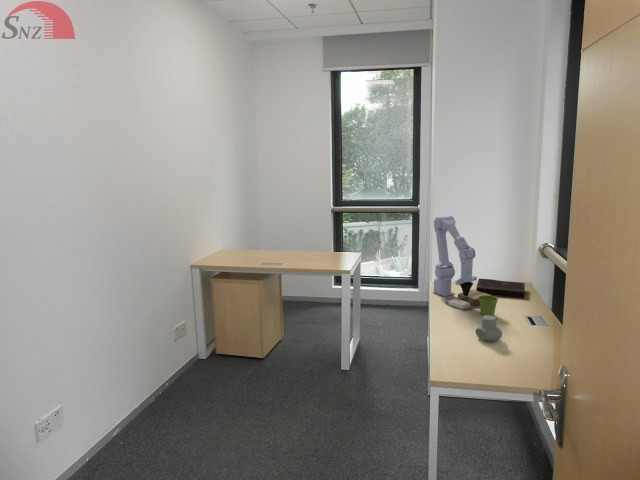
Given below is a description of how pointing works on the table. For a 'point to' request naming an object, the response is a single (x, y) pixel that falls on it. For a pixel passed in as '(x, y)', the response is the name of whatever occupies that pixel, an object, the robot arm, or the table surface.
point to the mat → (467, 307)
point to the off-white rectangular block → (459, 303)
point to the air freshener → (488, 329)
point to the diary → (501, 288)
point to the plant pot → (487, 304)
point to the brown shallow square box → (472, 297)
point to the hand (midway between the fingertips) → (465, 295)
